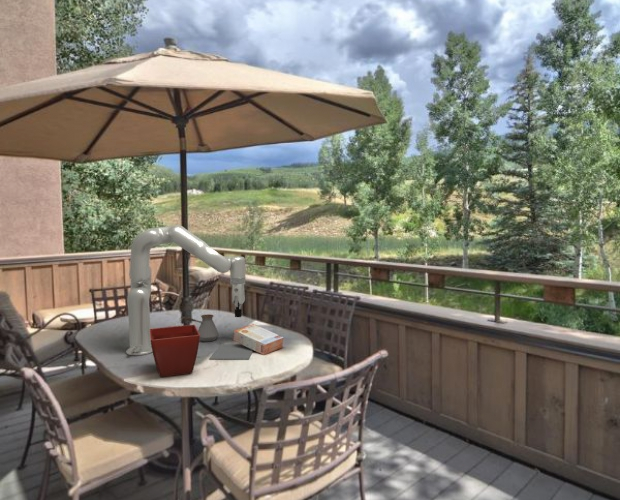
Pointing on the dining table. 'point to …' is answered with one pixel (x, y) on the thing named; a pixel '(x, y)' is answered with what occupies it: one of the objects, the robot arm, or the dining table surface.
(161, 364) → the plant pot
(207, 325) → the coffee pot
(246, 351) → the mat
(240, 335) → the cracker box
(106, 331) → the dining table surface
